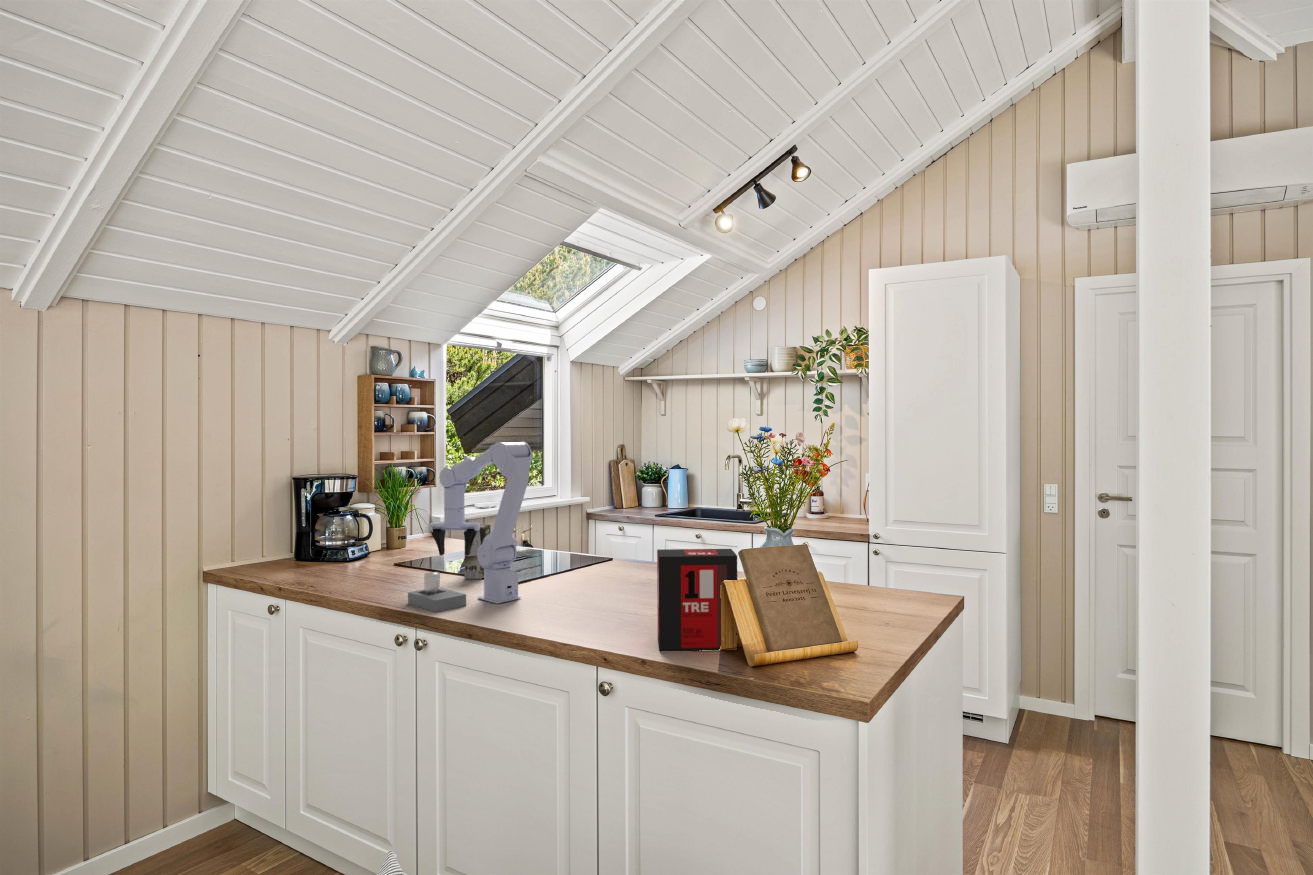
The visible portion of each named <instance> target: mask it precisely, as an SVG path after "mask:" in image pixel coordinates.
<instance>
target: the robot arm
mask: <svg viewBox="0 0 1313 875" xmlns="http://www.w3.org/2000/svg"><path fill="white" fill-rule="evenodd" d="M533 457H534V453H533V452H532V449H531V446H530V445H529V443H527V442H526V441H519V442H514V441H513V442H502V441H498V442H496V443H494V444H491V445H489V448H488V449H487V450H485V451H483V452H482V453H480V454H479V455H478V456H476V457H474V456H470V455H469V456H464V457H463V460H461V461H459V462H456V463H454V464H453V466H452V467H448V466H447V467H446V466H445V467H443V468H442V469H441V470H440V473H439V483H440V485H441V486H442V487H443V509H444V512H443V522H430V523H428V531H431V536H432V538H433V540H434V541H435V544H436V546H437V549H438V553H439V556H443V555H445V550H446V549H445V539H446V538H445V537H446V531H463V535H464V536H463V537H464V556H465V555H470V550H471V546H472V543H473V540H474V538H475V536H476V534H477V530H480V525H481V523H480V522H465V519H466V518H465V512H466V510H465V493H466V490H467V484H468V483H469V481H470V480H473V479H474V478H476V477H478V476H479V475H481V473H482V470H483V468H486V467H487V466H490V465H492V464H494V465H495V466H496V468H497V469H498V471H500V474H501V475H502V476H503V477H505V479H506V483H505V487H504V490H503V492H502V498H501V500H500V504H499V508H498V510H497V515H496V517H495V521H494V524H493V528H492V530H491V533H490V534H489V535H488V536H486V537H485V538H484V540H483V543H482V545H481V546H480V547H479V549H478V552H477V558H478V561H479V563H480V565H481V566H482V568H484V579H483V595H479V596H477V599H478V600H482V601H485V602H489V603H494V604H502V603H507V602H511V601H516V600H520V599H521V598H522V597H521V596H520V595H519V577H518V574H517V572H516V571H515V569H512V567H511V566H513V562H514V561H515V560H516V557H517V554H518V553H517V551H518V550H517V547H518V546H517V545H518V540H517V539H516V537H515V536H514V532H515V531H514V530H515V527H516V524H517V520H518V517H519V514H520V510H521V508H522V503H523V501H524V498H525V495H526V490H527V487H528V484H529V480H530V467H531V464H532V461H533ZM465 530H467V531H465Z"/></svg>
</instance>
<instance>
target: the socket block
mask: <svg viewBox="0 0 1313 875" xmlns="http://www.w3.org/2000/svg"><path fill="white" fill-rule="evenodd" d="M407 604H409V605H412V606H415V607H418V608H421V609H425V610H429V611H431V612H433V613H434V612H435V613H438V612H443V611H447V609H448V610H451V609H456V608H461V607H465V605H466V606H467V594H466V593H463V592H459V591H455V590H451V589H448V588H444V587H441V586H440V593H437V594H432V595H425V594H424V589H418V590H413V591H408V592H407Z"/></svg>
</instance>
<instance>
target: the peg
mask: <svg viewBox="0 0 1313 875" xmlns="http://www.w3.org/2000/svg"><path fill="white" fill-rule="evenodd" d="M423 575H424V576H423V577H424V578H423V580H424V581H423V585H424V587H423V588H424V594H425V595H432V594H437V593H440V587H441V585H440V584H441V581H440V580H441V578H440V577H441V573H440V572H439V571H430V572H429V571H428V572H425V573H423Z"/></svg>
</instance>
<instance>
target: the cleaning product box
mask: <svg viewBox="0 0 1313 875" xmlns="http://www.w3.org/2000/svg"><path fill="white" fill-rule="evenodd" d="M656 558H657V559H656V564H657V566H656V570H657V571H656V576H657V578H656V581H657V586H656V587H657V594H656V595H657V596H656V597H657V607H656V608H657V644H658V652H659V651H692V652H703V651H702V650H719V649H720V646H721V598H720V585H721V582H722V581H724V580H737V581H738V555H737V554H736V552H735V551H734V550H733V549H732V548H686V549H685V548H683V549H682V548H681V549H679V548H677V549H676V548H675V549H674V548H673V549H665V548H664V549H656ZM736 635H737V633H736ZM699 650H701V651H699Z"/></svg>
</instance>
